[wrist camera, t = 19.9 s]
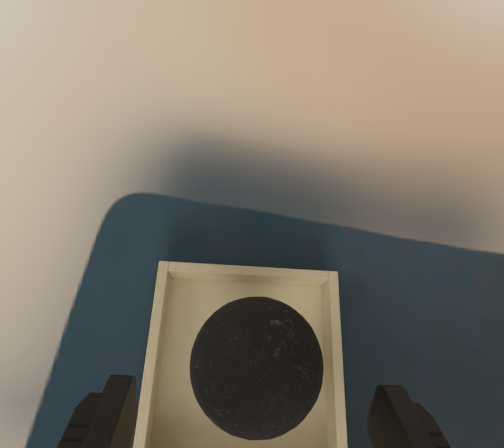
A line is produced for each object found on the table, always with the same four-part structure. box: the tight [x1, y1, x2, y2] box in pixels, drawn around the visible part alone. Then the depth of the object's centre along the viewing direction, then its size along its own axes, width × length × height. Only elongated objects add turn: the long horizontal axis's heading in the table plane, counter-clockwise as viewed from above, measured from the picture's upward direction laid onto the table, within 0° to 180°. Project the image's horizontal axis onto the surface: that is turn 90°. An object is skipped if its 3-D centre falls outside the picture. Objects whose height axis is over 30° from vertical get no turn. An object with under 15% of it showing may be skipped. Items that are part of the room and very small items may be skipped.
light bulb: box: [190, 296, 324, 440], centre depth 17 cm, size 6×6×10 cm
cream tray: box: [133, 261, 348, 448], centre depth 21 cm, size 11×11×2 cm
